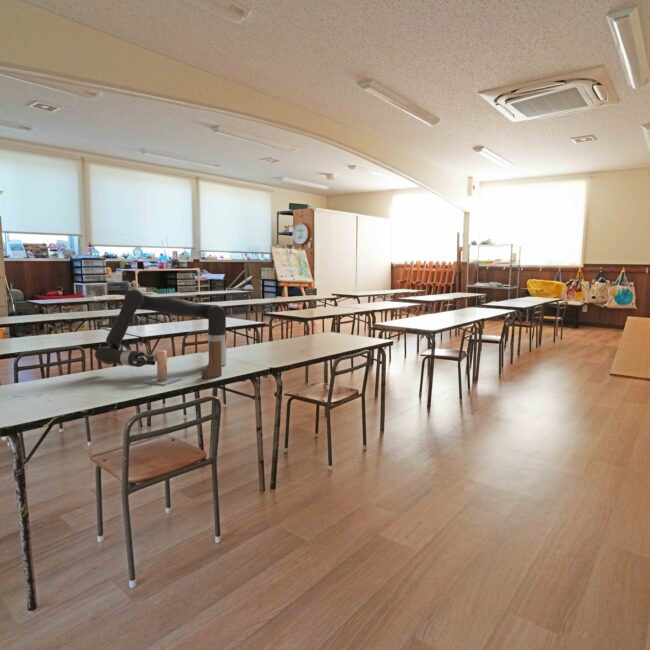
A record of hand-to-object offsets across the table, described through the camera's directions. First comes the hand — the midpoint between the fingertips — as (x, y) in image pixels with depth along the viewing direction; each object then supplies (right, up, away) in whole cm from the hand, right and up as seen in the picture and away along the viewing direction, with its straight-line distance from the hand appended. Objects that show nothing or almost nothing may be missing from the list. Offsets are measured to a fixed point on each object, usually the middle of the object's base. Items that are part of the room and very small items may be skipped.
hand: (160, 361), depth 220 cm
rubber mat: (0, -10, +1) cm, 10 cm away
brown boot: (+21, -9, +12) cm, 26 cm away
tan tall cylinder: (0, -9, +1) cm, 9 cm away
